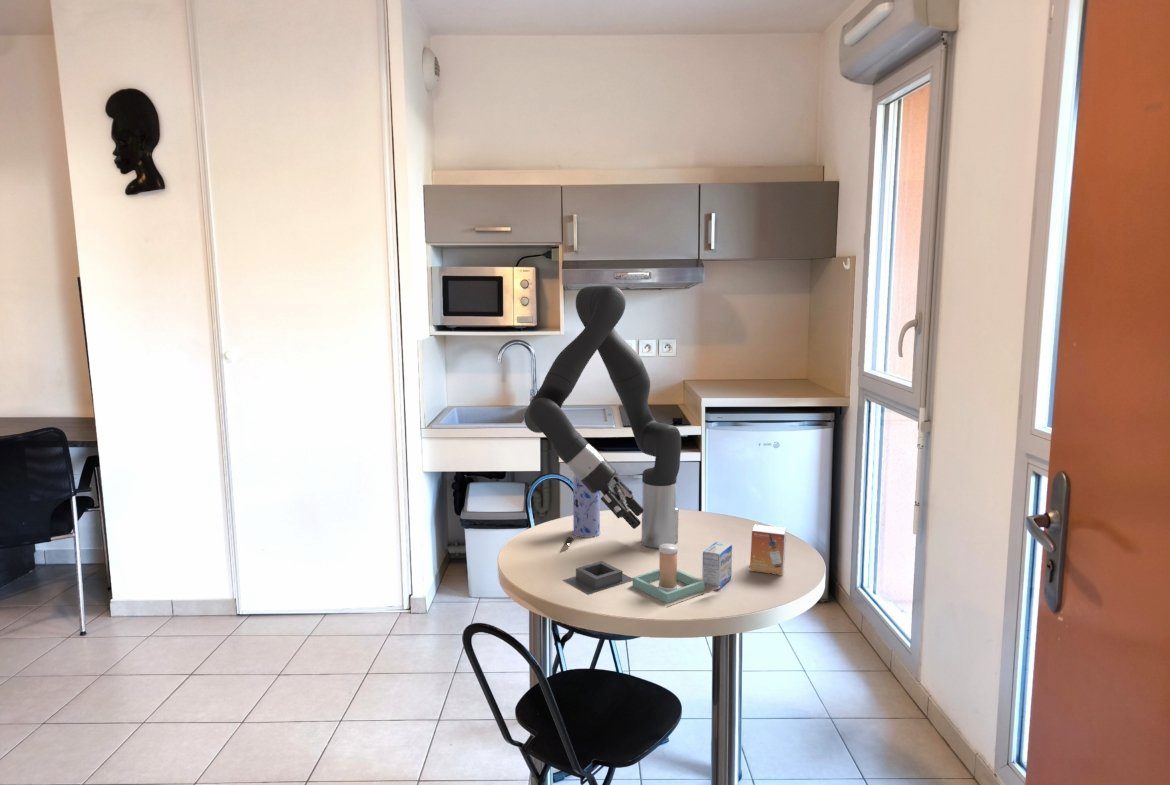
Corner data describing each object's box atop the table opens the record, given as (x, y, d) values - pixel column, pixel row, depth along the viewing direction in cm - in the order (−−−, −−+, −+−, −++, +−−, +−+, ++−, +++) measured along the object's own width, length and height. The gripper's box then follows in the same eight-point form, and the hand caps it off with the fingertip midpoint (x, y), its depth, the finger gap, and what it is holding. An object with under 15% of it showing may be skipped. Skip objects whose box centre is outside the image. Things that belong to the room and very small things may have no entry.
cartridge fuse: (659, 584, 168) (659, 543, 167) (677, 585, 168) (677, 544, 166) (658, 591, 164) (658, 549, 163) (676, 592, 164) (677, 550, 162)
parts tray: (668, 577, 174) (669, 565, 174) (704, 594, 165) (704, 581, 165) (632, 589, 167) (632, 577, 167) (666, 607, 158) (667, 594, 158)
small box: (749, 571, 178) (750, 530, 177) (752, 563, 183) (753, 523, 182) (782, 576, 176) (784, 534, 174) (784, 567, 181) (786, 527, 179)
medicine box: (719, 590, 167) (720, 554, 166) (701, 586, 169) (702, 551, 168) (731, 579, 174) (732, 544, 172) (714, 575, 176) (715, 540, 175)
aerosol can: (570, 529, 208) (569, 462, 205) (596, 527, 210) (596, 460, 207) (576, 538, 201) (576, 468, 198) (603, 536, 203) (603, 467, 200)
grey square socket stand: (608, 570, 179) (608, 556, 178) (635, 583, 171) (635, 569, 170) (562, 584, 170) (562, 570, 170) (588, 598, 162) (588, 584, 162)
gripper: (598, 465, 157) (649, 519, 157) (606, 449, 171) (653, 499, 171) (573, 487, 159) (624, 541, 159) (584, 470, 173) (630, 519, 173)
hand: (639, 519), depth 165 cm, fingers open, 8 cm apart
